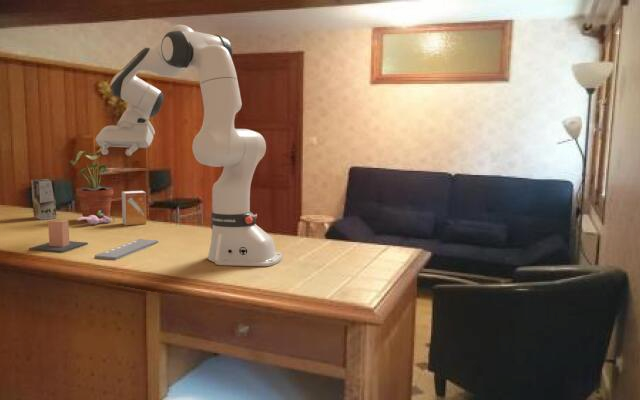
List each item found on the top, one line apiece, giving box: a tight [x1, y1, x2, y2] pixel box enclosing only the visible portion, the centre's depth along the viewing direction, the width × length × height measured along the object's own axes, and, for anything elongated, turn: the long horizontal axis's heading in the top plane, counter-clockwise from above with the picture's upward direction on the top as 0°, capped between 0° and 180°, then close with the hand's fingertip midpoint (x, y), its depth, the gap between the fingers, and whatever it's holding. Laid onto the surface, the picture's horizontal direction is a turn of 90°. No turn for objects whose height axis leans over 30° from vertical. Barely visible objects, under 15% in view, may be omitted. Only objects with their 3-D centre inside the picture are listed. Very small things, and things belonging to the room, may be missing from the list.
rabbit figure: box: [76, 210, 116, 226], centre depth 204 cm, size 6×6×15 cm
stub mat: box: [28, 240, 89, 254], centre depth 166 cm, size 12×12×1 cm
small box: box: [121, 190, 147, 226], centre depth 206 cm, size 8×6×13 cm
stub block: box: [47, 219, 70, 247], centre depth 165 cm, size 5×3×8 cm, turn 78°
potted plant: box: [69, 146, 114, 222], centre depth 211 cm, size 16×15×35 cm
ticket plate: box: [94, 238, 159, 261], centre depth 164 cm, size 7×24×1 cm, turn 168°
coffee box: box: [30, 178, 57, 221], centre depth 215 cm, size 9×6×16 cm
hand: (115, 153), depth 180 cm, fingers open, 8 cm apart
